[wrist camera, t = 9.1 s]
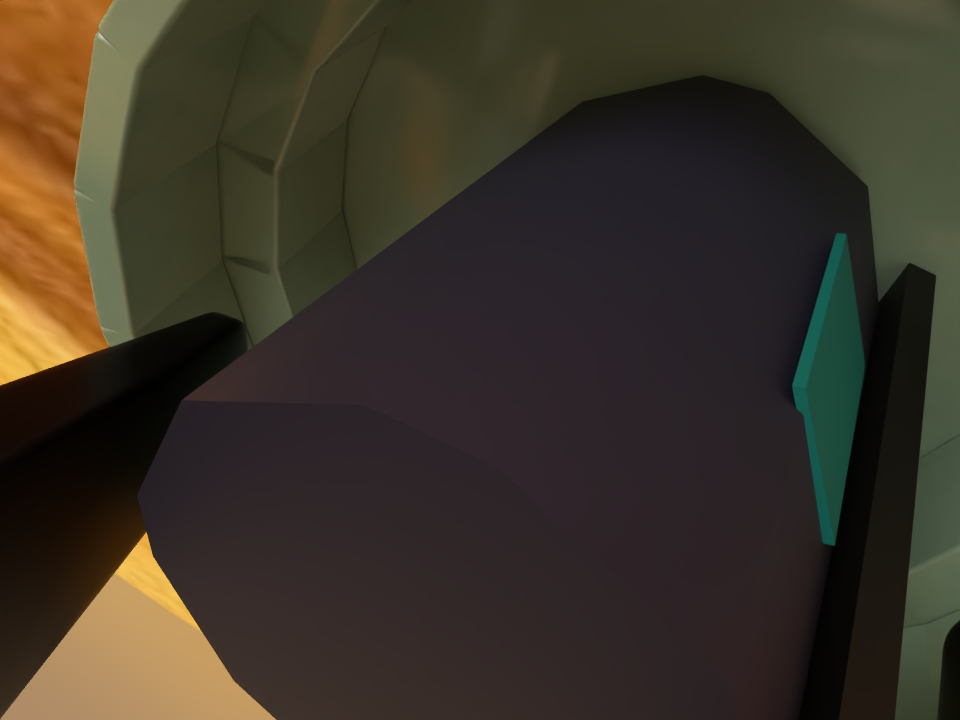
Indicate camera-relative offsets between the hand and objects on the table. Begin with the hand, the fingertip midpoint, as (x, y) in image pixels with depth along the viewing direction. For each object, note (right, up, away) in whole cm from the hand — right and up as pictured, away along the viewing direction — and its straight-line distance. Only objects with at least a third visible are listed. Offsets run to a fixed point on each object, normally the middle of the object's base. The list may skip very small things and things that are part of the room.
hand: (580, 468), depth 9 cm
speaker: (+2, +3, +4) cm, 5 cm away
